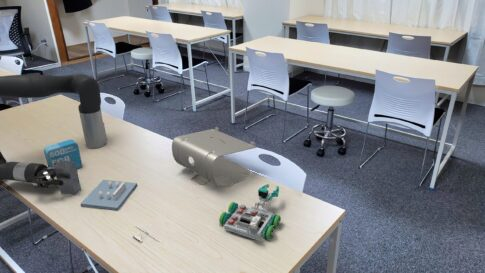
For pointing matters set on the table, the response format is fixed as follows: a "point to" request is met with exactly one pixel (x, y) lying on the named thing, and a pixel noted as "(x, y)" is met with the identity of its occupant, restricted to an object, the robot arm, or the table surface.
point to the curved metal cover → (211, 156)
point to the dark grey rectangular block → (67, 177)
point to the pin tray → (109, 195)
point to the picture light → (146, 233)
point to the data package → (63, 153)
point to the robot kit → (252, 217)
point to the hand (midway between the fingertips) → (69, 176)
